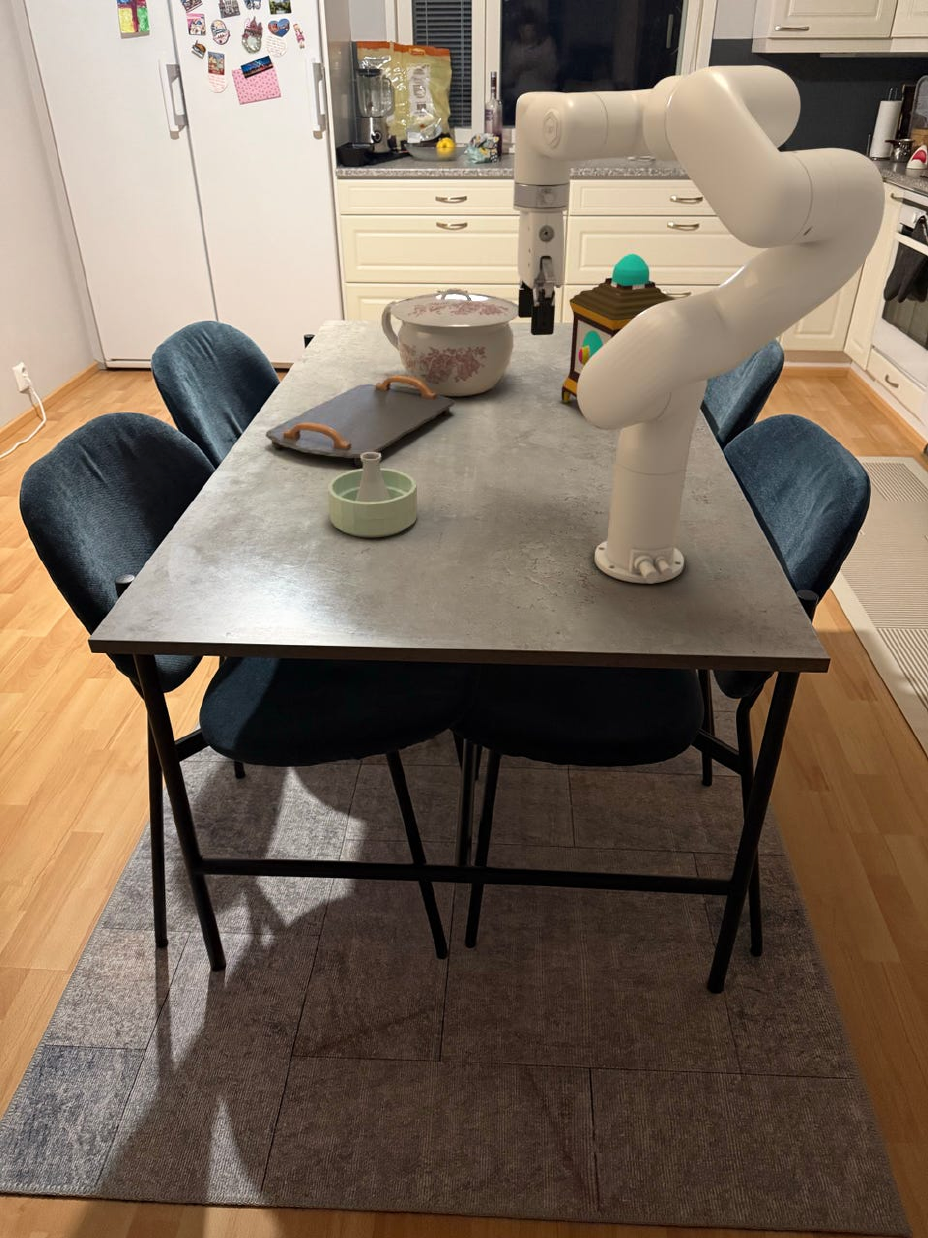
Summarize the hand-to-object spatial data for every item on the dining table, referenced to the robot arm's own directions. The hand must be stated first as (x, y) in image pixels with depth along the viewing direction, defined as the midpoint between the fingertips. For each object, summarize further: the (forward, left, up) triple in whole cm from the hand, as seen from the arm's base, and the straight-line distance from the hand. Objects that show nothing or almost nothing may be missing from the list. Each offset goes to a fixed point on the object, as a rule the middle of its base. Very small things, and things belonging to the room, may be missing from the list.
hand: (535, 325), depth 132 cm
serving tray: (+36, +25, -28) cm, 52 cm away
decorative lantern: (+42, -27, -28) cm, 57 cm away
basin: (-4, +25, -28) cm, 38 cm away
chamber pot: (+60, +4, -28) cm, 67 cm away
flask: (-4, +25, -28) cm, 37 cm away
